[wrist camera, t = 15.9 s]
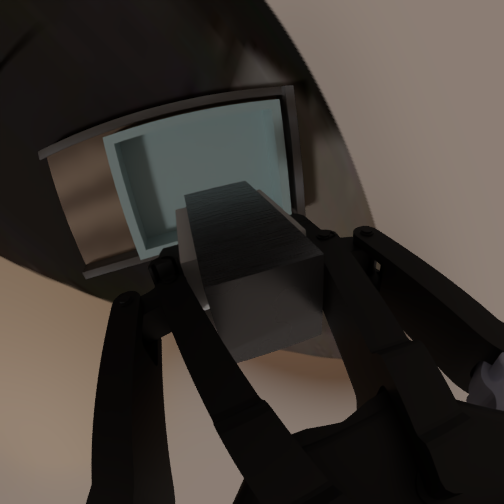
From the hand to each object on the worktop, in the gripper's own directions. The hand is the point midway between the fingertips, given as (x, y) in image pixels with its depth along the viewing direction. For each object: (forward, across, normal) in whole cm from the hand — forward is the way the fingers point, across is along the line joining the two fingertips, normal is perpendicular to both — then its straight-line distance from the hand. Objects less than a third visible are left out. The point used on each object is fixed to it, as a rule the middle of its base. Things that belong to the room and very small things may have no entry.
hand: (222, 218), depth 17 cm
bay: (+16, -3, 0) cm, 16 cm away
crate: (+15, 0, 0) cm, 15 cm away
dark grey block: (+1, 0, 0) cm, 1 cm away
